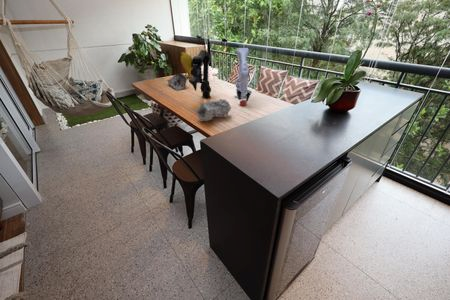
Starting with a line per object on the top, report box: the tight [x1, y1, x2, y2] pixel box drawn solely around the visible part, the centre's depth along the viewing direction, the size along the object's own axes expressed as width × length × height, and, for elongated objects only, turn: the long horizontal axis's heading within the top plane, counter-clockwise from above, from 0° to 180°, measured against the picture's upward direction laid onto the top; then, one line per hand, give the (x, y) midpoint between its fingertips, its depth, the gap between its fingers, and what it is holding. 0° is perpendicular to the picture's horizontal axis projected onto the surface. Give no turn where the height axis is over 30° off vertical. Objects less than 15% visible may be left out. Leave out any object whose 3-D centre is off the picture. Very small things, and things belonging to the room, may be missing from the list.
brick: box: [239, 99, 248, 107], centre depth 182 cm, size 5×4×4 cm
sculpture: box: [180, 51, 194, 79], centre depth 254 cm, size 20×27×30 cm
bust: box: [195, 98, 232, 123], centre depth 155 cm, size 17×17×28 cm
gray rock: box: [166, 72, 188, 91], centre depth 228 cm, size 19×8×30 cm
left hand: (199, 91), depth 177 cm, fingers open, 9 cm apart
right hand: (243, 100), depth 180 cm, fingers open, 7 cm apart
